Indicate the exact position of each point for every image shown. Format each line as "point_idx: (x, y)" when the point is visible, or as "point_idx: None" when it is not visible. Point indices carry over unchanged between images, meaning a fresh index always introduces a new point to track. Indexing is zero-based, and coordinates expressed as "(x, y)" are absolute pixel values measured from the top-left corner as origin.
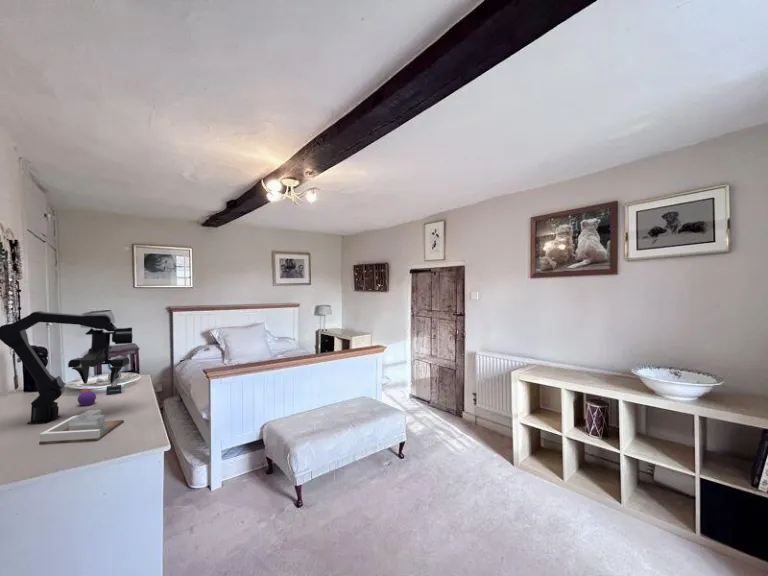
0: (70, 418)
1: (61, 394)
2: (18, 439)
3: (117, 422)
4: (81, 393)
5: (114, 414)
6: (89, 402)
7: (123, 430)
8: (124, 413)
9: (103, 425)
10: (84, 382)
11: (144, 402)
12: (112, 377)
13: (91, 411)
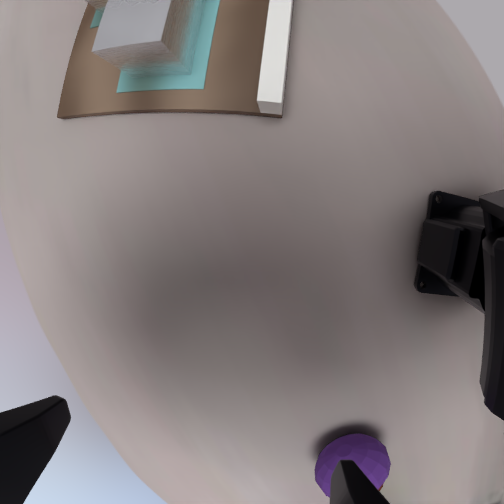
0: (276, 52)
1: (485, 301)
2: (418, 10)
3: (71, 86)
4: (381, 484)
5: (136, 251)
6: (333, 442)
7: (53, 36)
8: (98, 255)
9: (96, 7)
10: (350, 471)
11: (98, 397)
12: (2, 418)
13: (133, 16)
